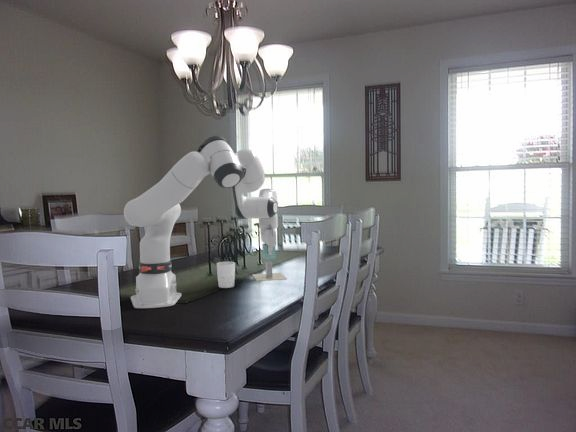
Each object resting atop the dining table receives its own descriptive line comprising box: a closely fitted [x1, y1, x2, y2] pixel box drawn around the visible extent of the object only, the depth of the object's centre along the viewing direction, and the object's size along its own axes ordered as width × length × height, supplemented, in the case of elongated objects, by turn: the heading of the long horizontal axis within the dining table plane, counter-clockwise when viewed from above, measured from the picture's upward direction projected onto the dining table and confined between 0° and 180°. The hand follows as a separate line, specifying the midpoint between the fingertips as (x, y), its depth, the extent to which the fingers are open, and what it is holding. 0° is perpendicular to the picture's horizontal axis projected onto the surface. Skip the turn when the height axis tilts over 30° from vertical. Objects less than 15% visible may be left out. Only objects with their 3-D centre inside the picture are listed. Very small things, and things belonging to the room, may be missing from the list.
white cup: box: [216, 261, 236, 289], centre depth 196 cm, size 8×8×10 cm
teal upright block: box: [261, 243, 277, 260], centre depth 213 cm, size 5×5×7 cm
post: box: [251, 261, 288, 282], centre depth 214 cm, size 14×14×7 cm
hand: (268, 253), depth 214 cm, fingers closed on teal upright block, 5 cm apart
